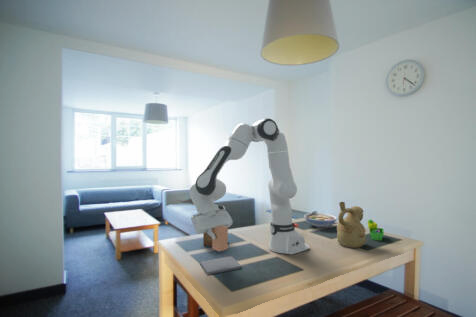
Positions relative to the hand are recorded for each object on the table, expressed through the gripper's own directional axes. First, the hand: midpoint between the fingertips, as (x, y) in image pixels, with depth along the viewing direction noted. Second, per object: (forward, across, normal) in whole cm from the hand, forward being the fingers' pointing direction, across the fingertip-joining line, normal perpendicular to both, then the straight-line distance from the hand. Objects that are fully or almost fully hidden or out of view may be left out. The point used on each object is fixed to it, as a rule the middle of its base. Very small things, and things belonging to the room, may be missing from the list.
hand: (220, 237), depth 113 cm
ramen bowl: (+8, +95, +10) cm, 96 cm away
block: (+3, 0, +4) cm, 5 cm away
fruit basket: (+34, +96, -16) cm, 103 cm away
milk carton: (-9, +18, +28) cm, 35 cm away
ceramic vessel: (+30, +72, -12) cm, 79 cm away
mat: (+9, 0, +10) cm, 13 cm away
